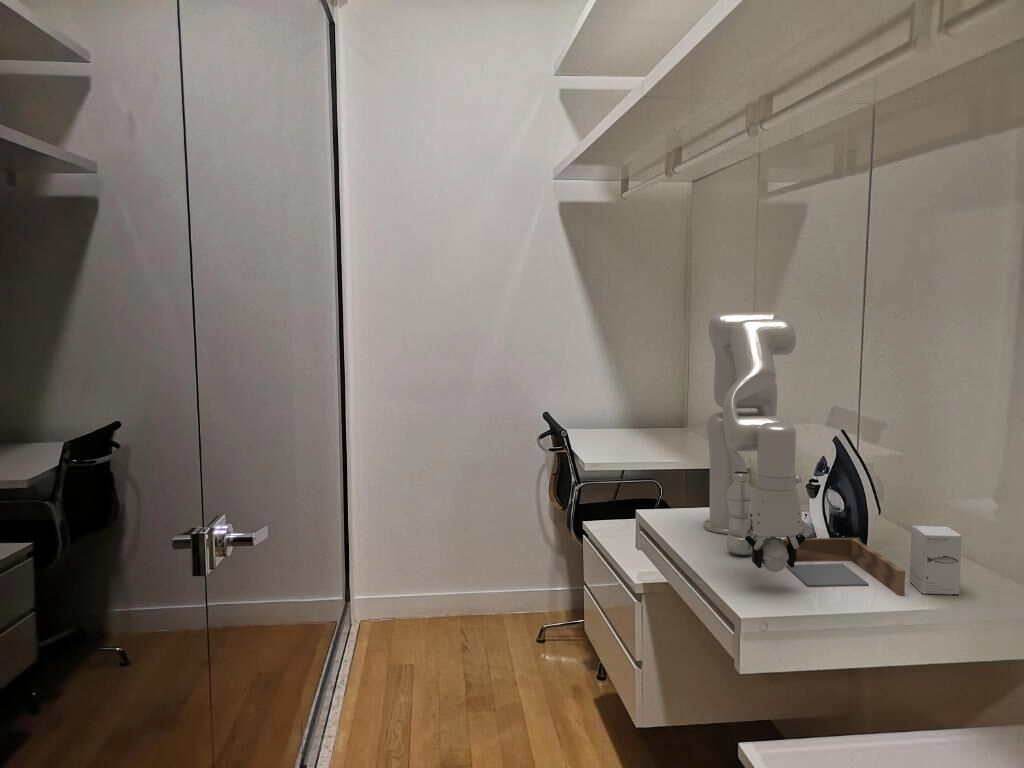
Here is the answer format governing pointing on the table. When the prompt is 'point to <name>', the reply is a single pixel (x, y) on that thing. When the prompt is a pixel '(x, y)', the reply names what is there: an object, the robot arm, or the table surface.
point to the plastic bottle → (739, 513)
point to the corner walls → (853, 558)
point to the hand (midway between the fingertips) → (773, 564)
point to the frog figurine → (774, 554)
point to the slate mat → (826, 575)
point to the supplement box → (935, 559)
